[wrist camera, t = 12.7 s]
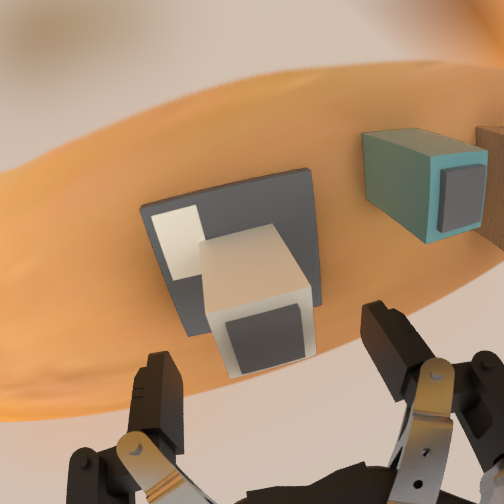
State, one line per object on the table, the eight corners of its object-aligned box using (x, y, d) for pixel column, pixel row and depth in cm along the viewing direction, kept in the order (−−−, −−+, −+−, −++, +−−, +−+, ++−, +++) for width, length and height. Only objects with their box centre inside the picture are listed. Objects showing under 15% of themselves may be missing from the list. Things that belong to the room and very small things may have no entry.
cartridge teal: (416, 128, 16) (493, 152, 10) (417, 188, 18) (485, 230, 12) (361, 133, 15) (436, 158, 10) (365, 198, 17) (430, 248, 12)
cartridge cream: (272, 223, 16) (314, 292, 11) (282, 283, 18) (319, 361, 13) (199, 241, 16) (206, 321, 11) (217, 300, 18) (231, 385, 13)
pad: (307, 167, 16) (311, 170, 15) (319, 299, 20) (322, 305, 20) (141, 205, 15) (139, 210, 15) (188, 330, 20) (188, 337, 19)
